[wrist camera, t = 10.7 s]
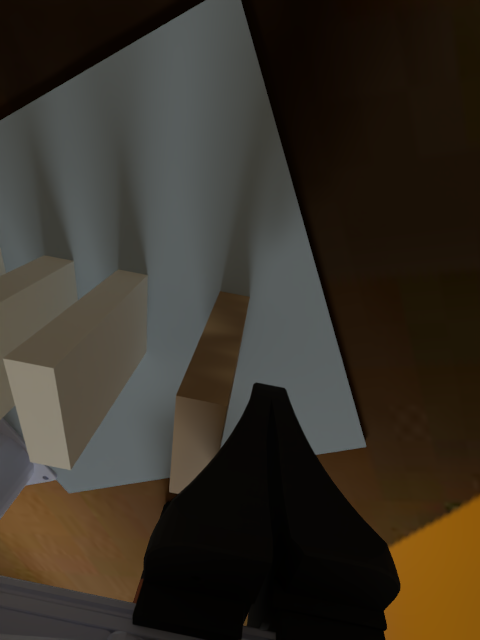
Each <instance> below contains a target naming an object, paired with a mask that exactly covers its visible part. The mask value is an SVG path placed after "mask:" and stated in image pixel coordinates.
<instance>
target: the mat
mask: <svg viewBox="0 0 480 640" xmlns="http://www.w3.org/2000/svg"><path fill="white" fill-rule="evenodd" d="M0 248H1V253H2V257H3V262H4V266H5V271H6V273H8V272H10V271H12V270H14V269H16V268H18V267H20V266H23V265H25V264H27V263H29V262H31V261H33V260H35V259H37V258H40V257H42V256H44V255H45V256H51V257H56V258H61V259H66V260H72V261H74V268H75V277H76V286H77V296H78V300H79V299H80V298H82V297H83V296H84V295H86V294H87V293H88V292H89V291H91V290H92V289H93V288H95V287H96V286H97V285H99V284H100V283H101V282H102V281H104V280H105V279H106V278H108V277H109V276H110V275H111V274H113V273H114V272H115V271H117V270H118V269H119V270H124V271H129V272H134V273H140V274H145V275H148V293H147V352H146V354H145V355H144V357H143V358H142V360H141V361H140V363H139V365H138V366H137V368H136V369H135V371H134V372H133V374H132V375H131V377H130V379H129V380H128V382H127V383H126V385H125V386H124V388H123V390H122V391H121V393H120V394H119V396H118V397H117V399H116V401H115V402H114V404H113V405H112V407H111V408H110V410H109V411H108V413H107V415H106V416H105V418H104V419H103V421H102V422H101V424H100V426H99V427H98V429H97V430H96V432H95V433H94V435H93V436H92V438H91V440H90V441H89V443H88V444H87V446H86V447H85V449H84V451H83V452H82V454H81V455H80V457H79V458H78V460H77V461H76V463H75V465H74V466H73V468H72V469H71V470H67V469H62V468H57V467H52V466H49V467H50V468H51V469H52V470H53V471H54V472H55V473H56V474H57V479H56V480H57V481H58V482H59V483H60V484H61V485H62V486H63V487H64V488H65V489H66V491H67V492H68V493H73V492H80V491H86V490H93V489H99V488H105V487H112V486H118V485H125V484H131V483H138V482H144V481H150V480H157V479H163V478H170V472H171V458H172V444H173V430H174V416H175V402H176V394H177V392H178V390H179V387H180V385H181V382H182V380H183V378H184V375H185V373H186V371H187V368H188V366H189V363H190V361H191V359H192V356H193V354H194V352H195V349H196V347H197V345H198V342H199V340H200V337H201V335H202V333H203V330H204V328H205V326H206V323H207V321H208V318H209V316H210V314H211V311H212V309H213V307H214V304H215V302H216V300H217V297H218V295H219V292H220V291H222V292H227V293H232V294H238V295H243V296H248V297H250V299H249V304H248V310H247V315H246V320H245V326H244V331H243V336H242V342H241V347H240V352H239V358H238V363H237V368H236V373H235V378H234V383H233V388H232V393H231V398H230V403H229V408H228V413H227V418H226V423H225V428H224V433H223V438H222V443H221V447H222V446H223V445H224V443H225V442H226V441H227V439H228V438H229V436H230V435H231V433H232V432H233V430H234V428H235V427H236V425H237V423H238V422H239V420H240V418H241V416H242V414H243V412H244V410H245V408H246V406H247V404H248V402H249V399H250V396H251V392H252V388H253V384H254V383H256V382H257V383H262V384H268V385H273V386H278V387H283V388H285V389H286V390H287V393H288V396H289V399H290V402H291V405H292V407H293V410H294V412H295V415H296V417H297V419H298V422H299V424H300V426H301V428H302V430H303V432H304V434H305V436H306V438H307V440H308V442H309V444H310V446H311V448H312V449H313V451H314V453H315V455H317V454H324V453H330V452H336V451H343V450H349V449H356V448H362V447H366V443H365V440H364V436H363V433H362V429H361V426H360V422H359V419H358V415H357V411H356V408H355V404H354V401H353V397H352V394H351V390H350V387H349V383H348V379H347V376H346V372H345V369H344V365H343V362H342V358H341V355H340V351H339V347H338V344H337V340H336V337H335V333H334V330H333V326H332V323H331V319H330V315H329V312H328V308H327V305H326V301H325V298H324V294H323V290H322V287H321V283H320V280H319V276H318V273H317V269H316V266H315V262H314V258H313V255H312V251H311V248H310V244H309V241H308V237H307V234H306V230H305V226H304V223H303V219H302V216H301V212H300V209H299V205H298V202H297V198H296V194H295V191H294V187H293V184H292V180H291V177H290V173H289V170H288V166H287V162H286V159H285V155H284V152H283V148H282V145H281V141H280V138H279V134H278V130H277V127H276V123H275V120H274V116H273V113H272V109H271V106H270V102H269V98H268V95H267V91H266V88H265V84H264V81H263V77H262V73H261V70H260V66H259V63H258V59H257V56H256V52H255V49H254V45H253V41H252V38H251V34H250V31H249V27H248V24H247V20H246V17H245V13H244V9H243V6H242V2H241V0H205V1H204V2H202V3H200V4H199V5H197V6H195V7H193V8H192V9H190V10H188V11H187V12H185V13H183V14H181V15H180V16H178V17H176V18H175V19H173V20H171V21H169V22H168V23H166V24H164V25H163V26H161V27H159V28H158V29H156V30H154V31H152V32H151V33H149V34H147V35H146V36H144V37H142V38H140V39H139V40H137V41H135V42H134V43H132V44H130V45H128V46H127V47H125V48H123V49H122V50H120V51H118V52H117V53H115V54H113V55H111V56H110V57H108V58H106V59H105V60H103V61H101V62H99V63H98V64H96V65H94V66H93V67H91V68H89V69H87V70H86V71H84V72H82V73H81V74H79V75H77V76H75V77H74V78H72V79H70V80H69V81H67V82H65V83H64V84H62V85H60V86H58V87H57V88H55V89H53V90H52V91H50V92H48V93H46V94H45V95H43V96H41V97H40V98H38V99H36V100H34V101H33V102H31V103H29V104H28V105H26V106H24V107H23V108H21V109H19V110H17V111H16V112H14V113H12V114H11V115H9V116H7V117H5V118H4V119H2V120H0ZM3 418H4V419H5V420H6V421H7V423H8V424H9V425H10V426H11V427H12V428H13V429H14V430H15V431H16V432H17V433H18V434H19V435H20V436H21V437H22V438H23V439H24V436H23V433H22V429H21V425H20V421H19V418H18V414H17V410H16V406H14V407H13V408H12V409H11V410H10V411H9V412H8V413H7V414H6V415H5V416H4V417H3ZM24 441H25V440H24ZM220 449H221V448H220Z"/></svg>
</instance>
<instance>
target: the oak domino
mask: <svg viewBox="0 0 480 640" xmlns="http://www.w3.org/2000/svg"><path fill="white" fill-rule="evenodd" d="M249 299H250V297H248V296H243V295H238V294H232V293H227V292H222V291H220V292H219V295H218V297H217V300H216V302H215V304H214V307H213V309H212V311H211V314H210V316H209V318H208V321H207V323H206V326H205V328H204V330H203V333H202V335H201V337H200V340H199V342H198V345H197V347H196V349H195V352H194V354H193V356H192V359H191V361H190V363H189V366H188V368H187V371H186V373H185V375H184V378H183V380H182V382H181V385H180V387H179V390H178V392H177V394H176V402H175V416H174V430H173V444H172V458H171V472H170V485H169V492H171V493H176V494H179V493H180V492H181V491H182V490H183V489H184V488H185V487H186V486H188V485H189V484H190V483H191V482H192V481H193V480H194V479H195V478H196V476H197V475H198V474H199V473H200V472H201V471H202V470H203V469H204V468H205V467H206V466H207V465H208V463H209V462H210V461H211V460H212V459H213V458H214V456H215V455H216V454H217V452H218V451H219V450H220V448H221V443H222V438H223V433H224V428H225V423H226V418H227V413H228V408H229V403H230V398H231V393H232V388H233V383H234V378H235V373H236V368H237V363H238V358H239V352H240V347H241V342H242V336H243V331H244V326H245V320H246V315H247V310H248V304H249Z"/></svg>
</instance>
